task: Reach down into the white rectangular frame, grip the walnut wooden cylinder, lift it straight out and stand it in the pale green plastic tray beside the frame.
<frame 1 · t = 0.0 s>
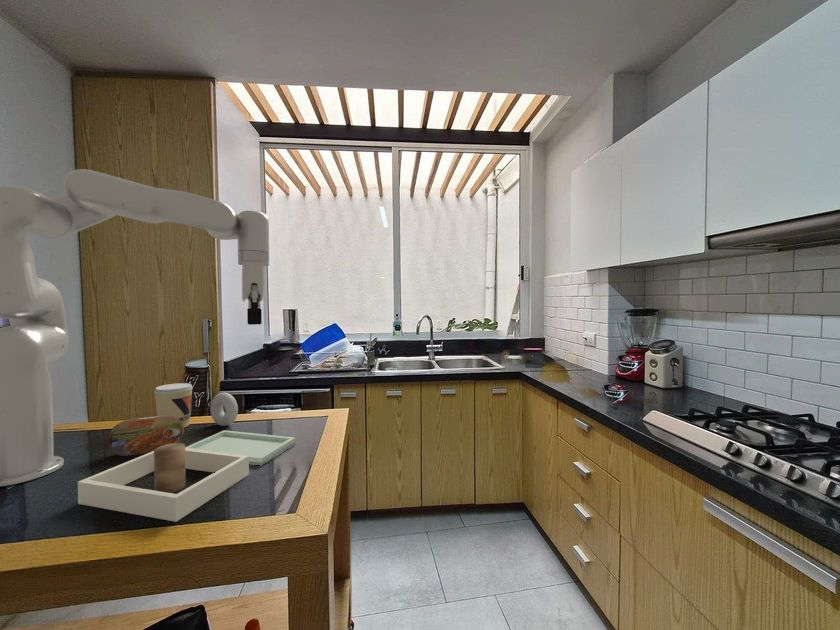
hand: (254, 323, 94), 31 cm above the worktop, tool pointing down, fingers open, 9 cm apart
tray: (241, 450, 88), on the worktop
tin: (147, 451, 87), on the worktop
coffee cup: (174, 426, 105), on the worktop
wooden cylinder: (170, 488, 69), resting in white rectangular frame
donut: (224, 426, 106), on the worktop
white rectangular frame: (170, 487, 69), on the worktop
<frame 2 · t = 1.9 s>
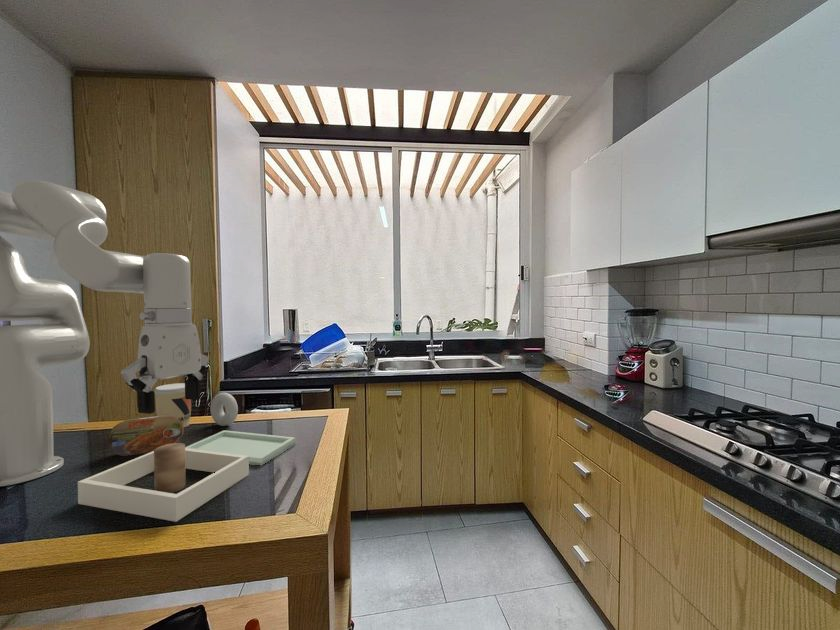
hand: (171, 405, 69), 16 cm above the worktop, tool pointing down, fingers open, 9 cm apart
nothing on the worktop moved.
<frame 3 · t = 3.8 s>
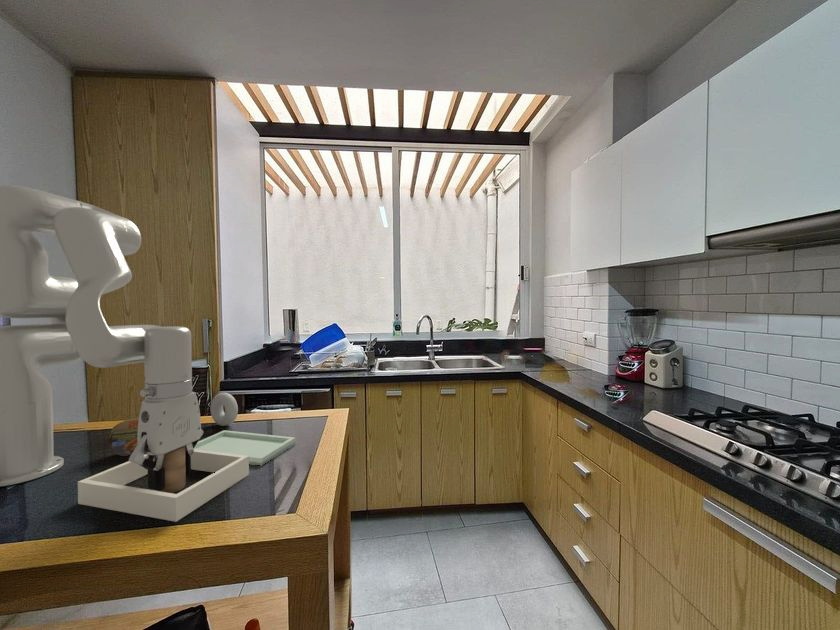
hand: (170, 480, 69), 1 cm above the worktop, tool pointing down, fingers closed on wooden cylinder, 5 cm apart
wooden cylinder: (170, 488, 69), resting in white rectangular frame, touching gripper
everything else where it was.
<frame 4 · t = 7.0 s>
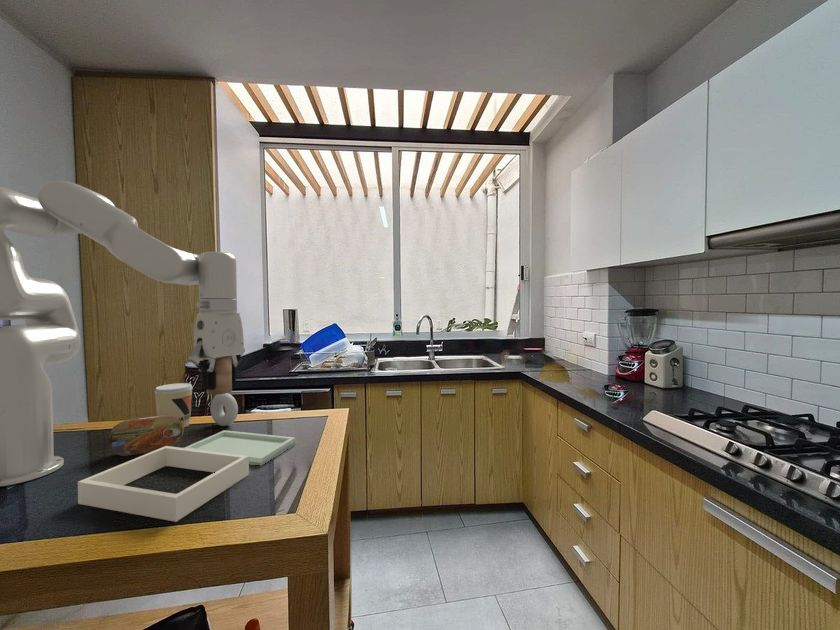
hand: (219, 385, 81), 18 cm above the worktop, tool pointing down, fingers closed on wooden cylinder, 5 cm apart
wooden cylinder: (219, 392, 81), point 16 cm above the worktop, touching gripper
everything else where it was.
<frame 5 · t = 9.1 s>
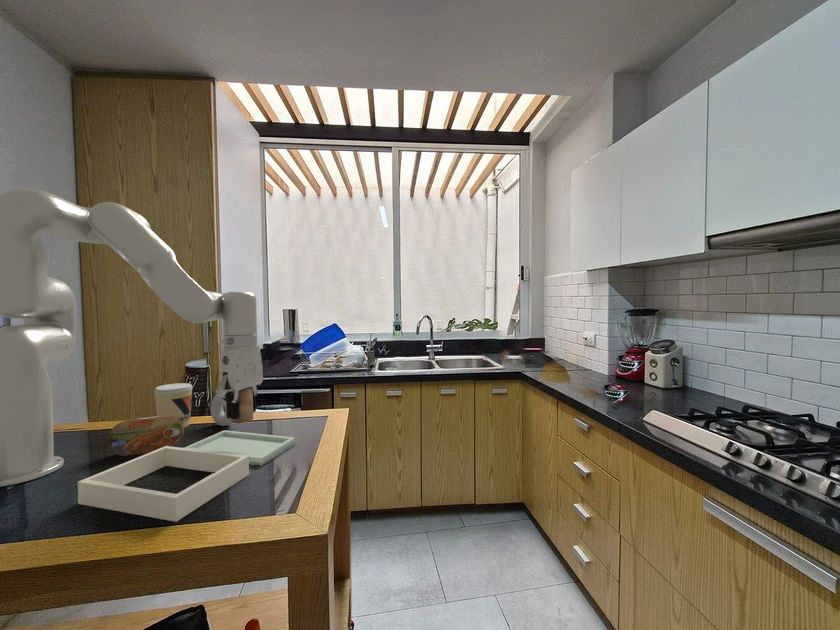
hand: (241, 414, 88), 9 cm above the worktop, tool pointing down, fingers closed on wooden cylinder, 5 cm apart
wooden cylinder: (242, 419, 88), point 8 cm above the worktop, touching gripper
everything else where it was.
when the fingers open (3 cm above the worktop, at t = 10.6 s): wooden cylinder drops 1 cm, resting on tray.
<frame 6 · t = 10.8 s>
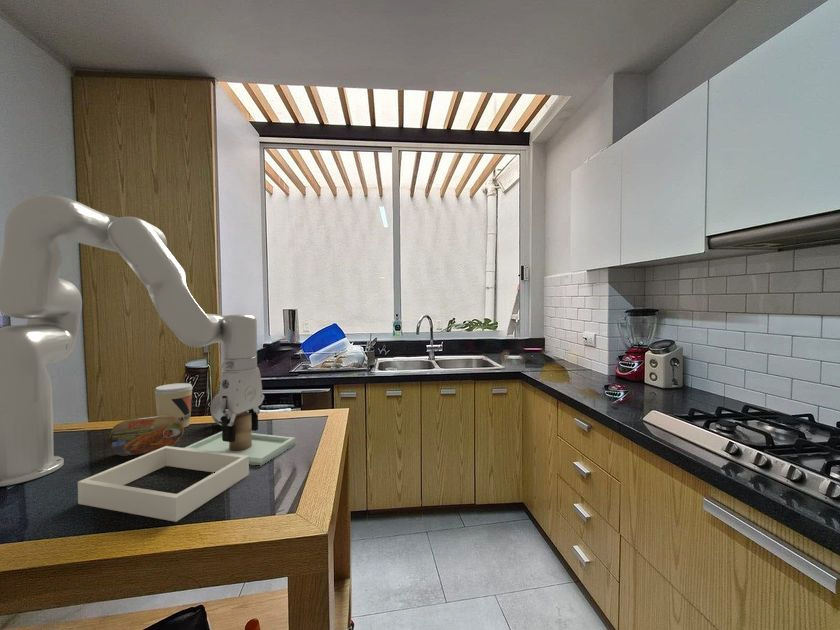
hand: (240, 434, 88), 4 cm above the worktop, tool pointing down, fingers open, 7 cm apart
wooden cylinder: (240, 447, 88), point 1 cm above the worktop, touching tray
everything else where it was.
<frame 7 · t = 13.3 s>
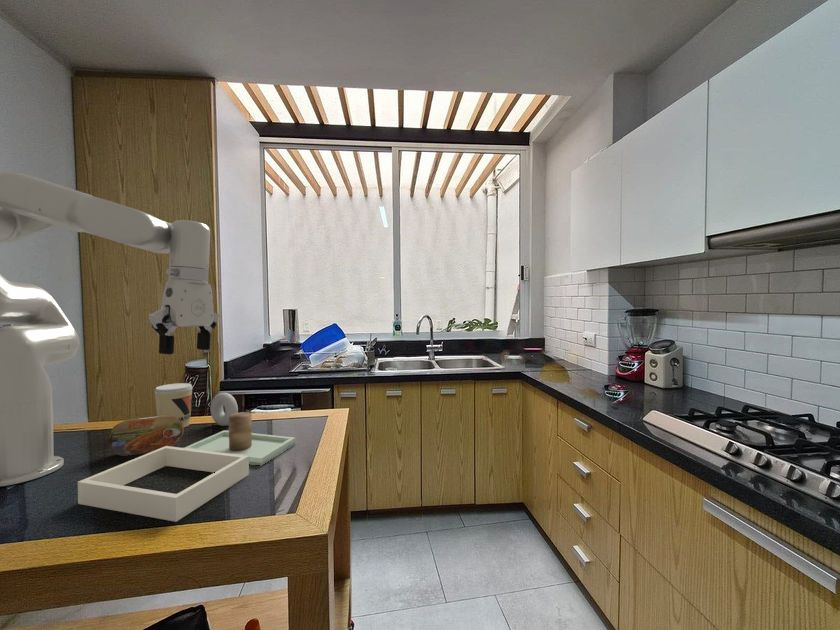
hand: (185, 351, 80), 25 cm above the worktop, tool pointing down, fingers open, 9 cm apart
nothing on the worktop moved.
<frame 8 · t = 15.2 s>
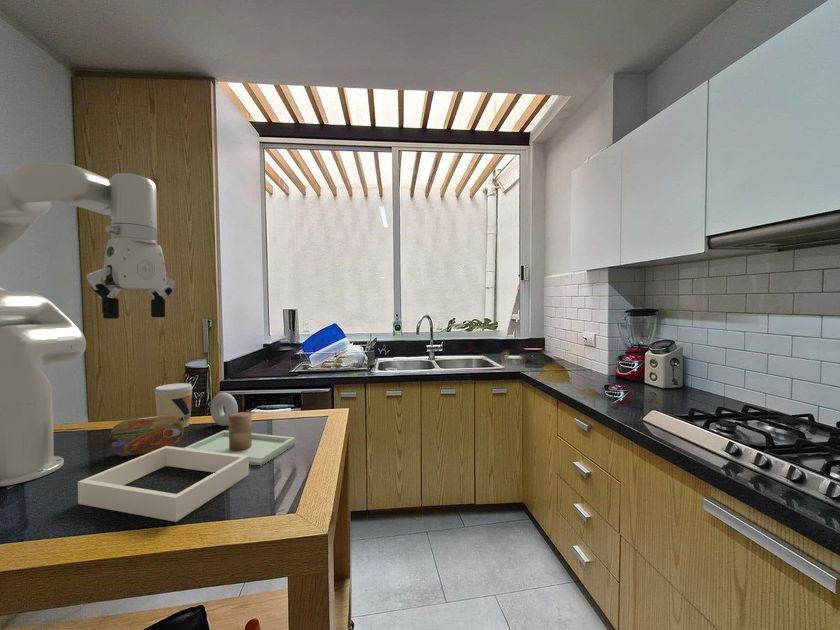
hand: (136, 317, 74), 33 cm above the worktop, tool pointing down, fingers open, 9 cm apart
nothing on the worktop moved.
at the end: wooden cylinder inside the target area on the tray (0.2 cm from its centre), point 0.8 cm above the tray's base; wooden cylinder tilted 0°; the gripper is holding nothing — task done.
